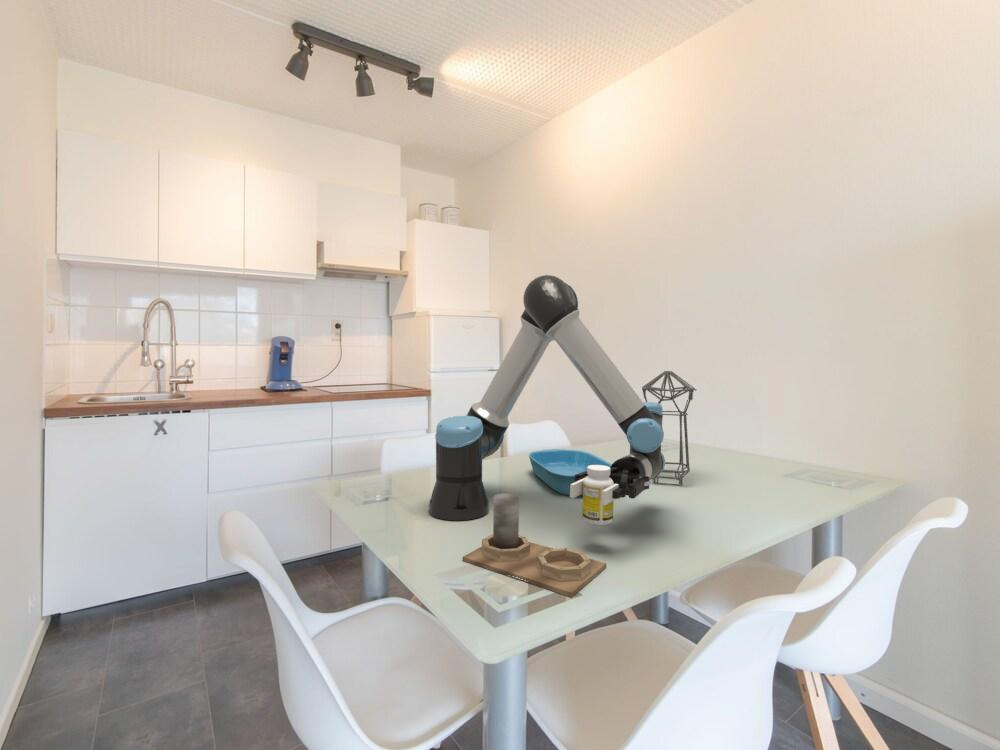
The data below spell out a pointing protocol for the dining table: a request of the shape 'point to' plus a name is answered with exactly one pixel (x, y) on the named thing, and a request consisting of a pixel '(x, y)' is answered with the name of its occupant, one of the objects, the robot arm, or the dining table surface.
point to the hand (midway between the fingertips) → (587, 494)
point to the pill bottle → (597, 495)
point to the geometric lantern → (687, 388)
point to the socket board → (531, 554)
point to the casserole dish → (562, 466)
